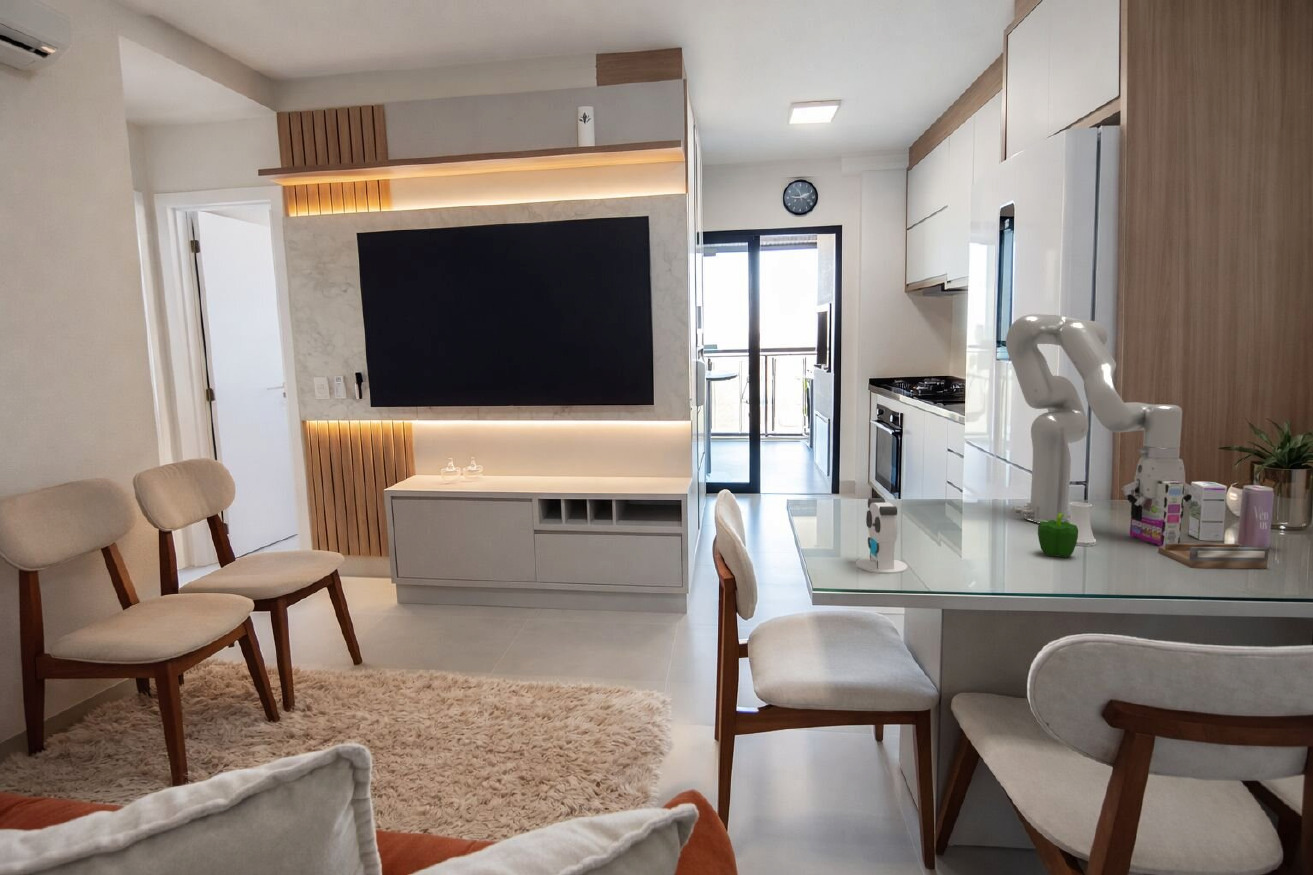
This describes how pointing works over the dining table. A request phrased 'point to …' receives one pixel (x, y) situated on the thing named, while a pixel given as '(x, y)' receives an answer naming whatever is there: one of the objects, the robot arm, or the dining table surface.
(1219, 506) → the syrup box
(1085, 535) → the vase
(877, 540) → the panda figurine
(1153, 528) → the candy bar box
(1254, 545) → the beverage can
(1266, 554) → the wooden tray
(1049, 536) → the bell pepper
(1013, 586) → the dining table surface
